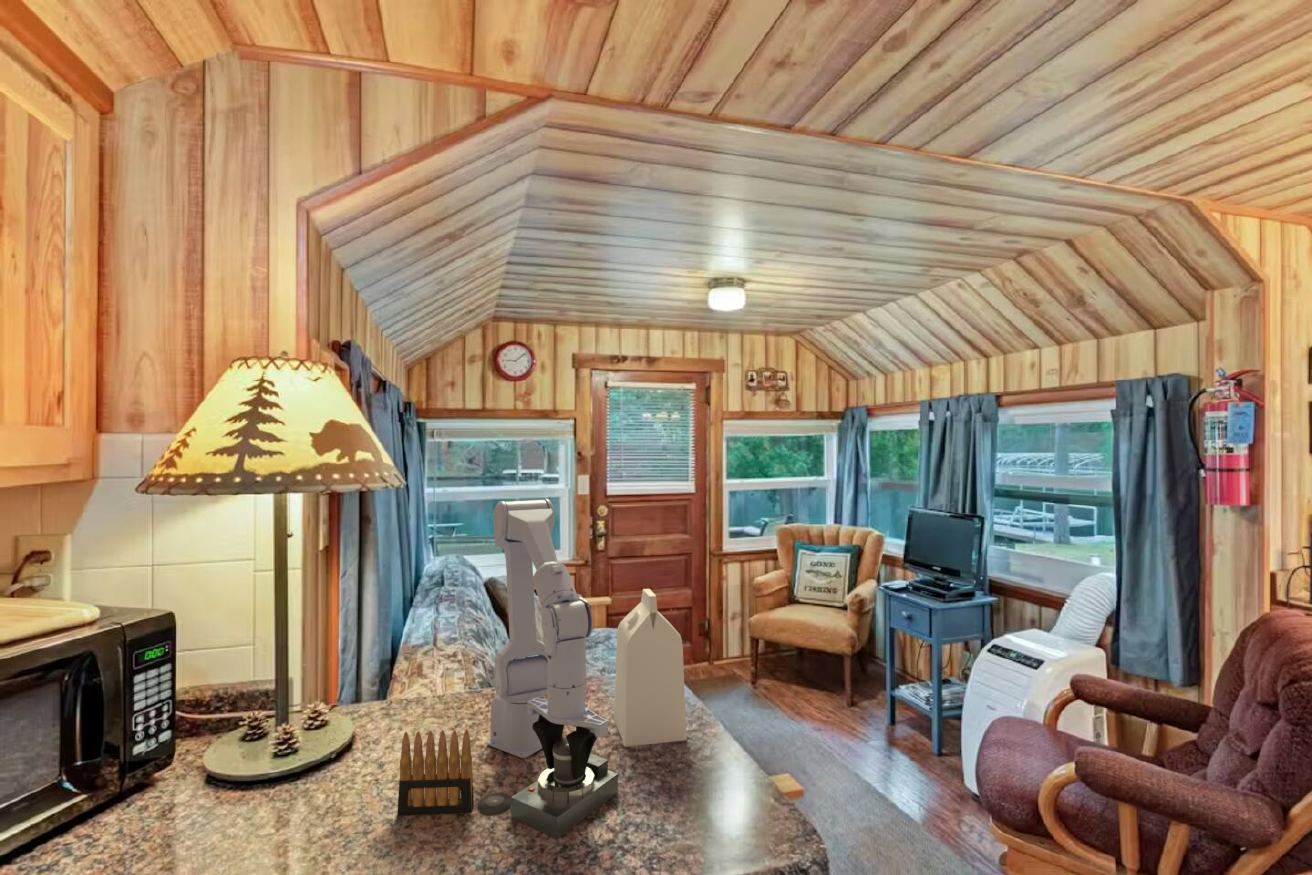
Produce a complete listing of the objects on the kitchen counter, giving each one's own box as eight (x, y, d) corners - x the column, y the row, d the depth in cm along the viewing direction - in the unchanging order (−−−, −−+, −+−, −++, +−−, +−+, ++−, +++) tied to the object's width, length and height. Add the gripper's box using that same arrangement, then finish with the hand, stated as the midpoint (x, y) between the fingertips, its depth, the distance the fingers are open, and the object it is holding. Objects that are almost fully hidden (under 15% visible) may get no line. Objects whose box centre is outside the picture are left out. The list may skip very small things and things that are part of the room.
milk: (686, 740, 120) (687, 598, 119) (624, 746, 117) (625, 602, 117) (670, 712, 131) (670, 583, 131) (613, 718, 129) (614, 586, 128)
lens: (547, 785, 98) (546, 746, 98) (566, 770, 102) (565, 733, 102) (571, 794, 96) (570, 755, 96) (590, 778, 100) (589, 740, 100)
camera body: (511, 817, 95) (511, 786, 95) (574, 775, 107) (574, 747, 107) (556, 838, 90) (557, 805, 90) (618, 792, 102) (618, 763, 102)
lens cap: (470, 809, 98) (470, 802, 98) (495, 794, 102) (495, 787, 102) (493, 820, 95) (493, 813, 95) (518, 804, 99) (518, 797, 99)
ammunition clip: (474, 805, 98) (474, 726, 98) (471, 813, 96) (471, 732, 96) (401, 808, 97) (401, 728, 97) (397, 816, 96) (397, 734, 96)
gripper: (621, 683, 98) (620, 773, 98) (549, 664, 106) (549, 747, 106) (590, 699, 92) (590, 795, 92) (517, 677, 100) (517, 765, 100)
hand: (566, 771), depth 99 cm, fingers closed on lens, 4 cm apart
